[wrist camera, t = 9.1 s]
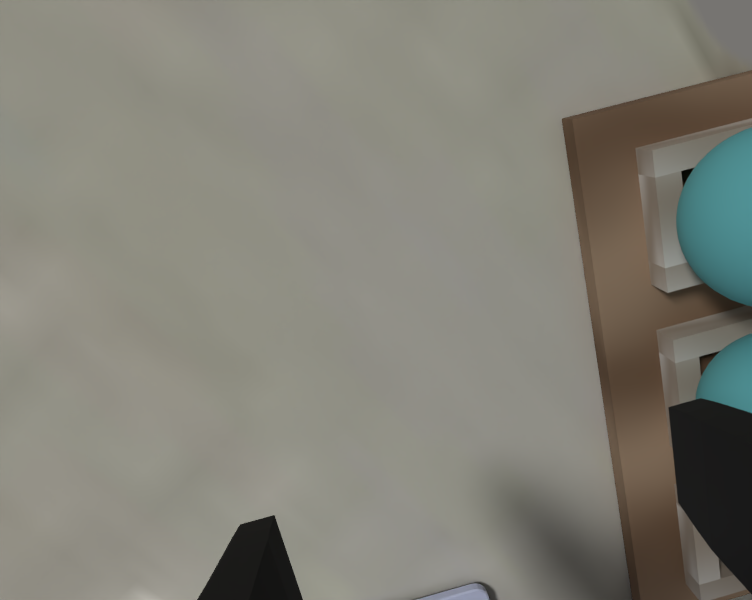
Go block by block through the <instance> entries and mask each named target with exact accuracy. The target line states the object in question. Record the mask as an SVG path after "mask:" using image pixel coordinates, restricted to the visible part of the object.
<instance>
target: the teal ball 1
mask: <svg viewBox="0 0 752 600" xmlns="http://www.w3.org/2000/svg"><path fill="white" fill-rule="evenodd" d="M676 229H677V235H678V240H679V243H680V246H681V250H682V252H683V254H684V256H685V259H686V260H687V262H688V263H689V265H690V266H691V268H692V269H693V271H694V272H695V273H696V275H697V276H698V277H699V278H700V279H701V280H702V281H703V282H704V283H705V284H707V285H708V286H709V287H710V288H712V289H713V290H714V291H716V292H718V293H719V294H721V295H723V296H725V297H727V298H728V299H730V300H733V301H736V302H738V303H741V304H744V305H747V306H752V127H751V128H748V129H745V130H743V131H741V132H739V133H737V134H735V135H733V136H731V137H729V138H727V139H726V140H724V141H723V142H721V143H719V144H718V145H717V146H716V147H714V148H713V149H712V150H711V151H710V152H709V153H707V154H706V155H705V156H704V157H703V159H702V160H701V161H700V162H699V163H698V164H697V165H696V167H695V168H694V169H693V171H692V172H691V174H690V175H689V177H688V179H687V181H686V183H685V185H684V187H683V189H682V192H681V195H680V198H679V202H678V207H677V215H676Z"/></svg>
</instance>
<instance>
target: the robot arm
mask: <svg viewBox="0 0 752 600" xmlns="http://www.w3.org/2000/svg"><path fill="white" fill-rule="evenodd" d="M668 409H669V419H670V428H671V438H672V448H673V457H674V467H675V477H676V486H677V496H678V503H679V504H680V506H681V507H682V509H683V510H684V512H685V513H686V515H687V516H688V518H689V519H690V521H691V522H692V524H693V525H694V526H695V528H696V529H697V531H698V532H699V533H700V535H701V536H702V538H703V539H704V540H705V542H706V543H707V544H708V546H709V547H710V548H711V550H712V551H713V552H714V553H715V554H716V556H717V557H718V558H719V559H720V560H721V561H722V562H723V563H724V565H725V566H726V567H727V568H728V569H729V570H730V571H731V572H732V573H733V574H734V576H735V577H736V578H737V579H738V580H739V581H740V582H741V583H742V584H743V585H744V587H745V588H746V589H747V590H748V591H749V592H750V593H751V594H752V413H750V412H747V411H744V410H741V409H737V408H734V407H731V406H728V405H725V404H721V403H718V402H714V401H710V400H706V399H702V398H700V399H696V400H692V401H689V402H685V403H681V404H678V405H674V406H671V407H668ZM197 600H303V599H302V596H301V593H300V590H299V587H298V584H297V581H296V578H295V575H294V572H293V569H292V566H291V563H290V560H289V557H288V554H287V551H286V548H285V545H284V543H283V540H282V537H281V534H280V531H279V528H278V525H277V522H276V519H275V516H274V515H273V516H270V517H266V518H263V519H259V520H255V521H252V522H248V523H244V524H241V525H240V526H239V527H238V529H237V531H236V532H235V534H234V536H233V537H232V539H231V541H230V543H229V545H228V546H227V548H226V550H225V552H224V554H223V556H222V557H221V559H220V561H219V563H218V565H217V566H216V568H215V570H214V572H213V574H212V575H211V577H210V579H209V581H208V582H207V584H206V586H205V588H204V589H203V591H202V593H201V594H200V596H199V598H198V599H197ZM416 600H489V596H488V594H487V591H486V589H485V587H484V586H482V585H481V584H477V583H474V584H469V585H465V586H462V587H458V588H455V589H451V590H448V591H444V592H441V593H437V594H434V595H430V596H427V597H423V598H420V599H416Z"/></svg>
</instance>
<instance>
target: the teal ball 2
mask: <svg viewBox="0 0 752 600" xmlns="http://www.w3.org/2000/svg"><path fill="white" fill-rule="evenodd" d="M700 398H702V399H706V400H710V401H714V402H718V403H721V404H725V405H728V406H731V407H734V408H737V409H741V410H744V411H747V412H750V413H752V333H751V334H748V335H746V336H744V337H741V338H739V339H737V340H735V341H734V342H732V343H730V344H729V345H727V346H726V347H725V348H723V349H722V350H721V351H720V352H719V353H718V354H717V355H716V356H715V357H714V358H713V359H712V360H711V362H710V363H709V364H708V366H707V367H706V369H705V370H704V372H703V374H702V376H701V378H700V381H699V384H698V387H697V391H696V399H700ZM696 399H695V400H696Z"/></svg>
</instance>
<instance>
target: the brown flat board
mask: <svg viewBox="0 0 752 600" xmlns="http://www.w3.org/2000/svg"><path fill="white" fill-rule="evenodd" d="M562 123H563V130H564V137H565V144H566V151H567V157H568V164H569V171H570V178H571V185H572V191H573V198H574V205H575V212H576V219H577V226H578V232H579V239H580V246H581V253H582V260H583V266H584V273H585V280H586V287H587V294H588V300H589V307H590V314H591V321H592V328H593V335H594V341H595V348H596V355H597V362H598V369H599V375H600V382H601V389H602V396H603V403H604V410H605V416H606V423H607V430H608V437H609V444H610V450H611V457H612V464H613V471H614V478H615V484H616V491H617V498H618V505H619V512H620V519H621V525H622V532H623V539H624V546H625V553H626V559H627V566H628V573H629V580H630V587H631V593H632V600H729V599H732V598H736V597H739V596H743V595H746V594H749V593H750V592H749V591H748V590H747V589H746V588H745V587H744V585H743V584H742V583H741V582H740V581H739V580H738V579H737V578H736V577H735V576H734V574H733V573H732V572H731V571H730V570H729V569H728V568H727V567H726V566H725V565H724V563H723V562H722V561H721V560H720V559H719V558H718V557H717V556H716V554H715V553H714V552H713V551H712V550H711V548H710V547H709V546H708V544H707V543H706V542H705V540H704V539H703V538H702V536H701V535H700V533H699V532H698V531H697V529H696V528H695V526H694V525H693V524H692V522H691V521H690V519H689V518H688V516H687V515H686V513H685V512H684V510H683V509H682V507H681V506H680V504H679V503H678V496H677V486H676V477H675V467H674V457H673V448H672V438H671V428H670V419H669V409H668V407H671V406H674V405H678V404H681V403H685V402H689V401H692V400H695V399H696V391H697V387H698V384H699V381H700V378H701V376H702V374H703V372H704V370H705V369H706V367H707V366H708V364H709V363H710V362H711V360H712V359H713V358H714V357H715V356H716V355H717V354H718V353H719V352H720V351H721V350H722V349H723V348H725V347H726V346H727V345H729V344H730V343H732V342H734V341H735V340H737V339H739V338H741V337H744V336H746V335H748V334H751V333H752V306H747V305H744V304H741V303H738V302H736V301H733V300H730V299H728V298H727V297H725V296H723V295H721V294H719V293H718V292H716V291H714V290H713V289H712V288H710V287H709V286H708V285H707V284H705V283H704V282H703V281H702V280H701V279H700V278H699V277H698V276H697V275H696V273H695V272H694V271H693V269H692V268H691V266H690V265H689V263H688V262H687V260H686V259H685V256H684V254H683V252H682V250H681V246H680V243H679V240H678V235H677V229H676V215H677V207H678V202H679V198H680V195H681V192H682V189H683V187H684V185H685V183H686V181H687V179H688V177H689V175H690V174H691V172H692V171H693V169H694V168H695V167H696V165H697V164H698V163H699V162H700V161H701V160H702V159H703V157H704V156H705V155H706V154H707V153H709V152H710V151H711V150H712V149H713V148H714V147H716V146H717V145H718V144H719V143H721V142H723V141H724V140H726V139H727V138H729V137H731V136H733V135H735V134H737V133H739V132H741V131H743V130H745V129H748V128H751V127H752V70H751V71H747V72H744V73H740V74H736V75H732V76H728V77H724V78H720V79H716V80H712V81H708V82H704V83H700V84H696V85H693V86H689V87H685V88H681V89H677V90H673V91H669V92H665V93H661V94H657V95H653V96H649V97H645V98H641V99H638V100H634V101H630V102H626V103H622V104H618V105H614V106H610V107H606V108H602V109H598V110H594V111H590V112H586V113H583V114H579V115H575V116H571V117H567V118H563V119H562Z"/></svg>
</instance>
